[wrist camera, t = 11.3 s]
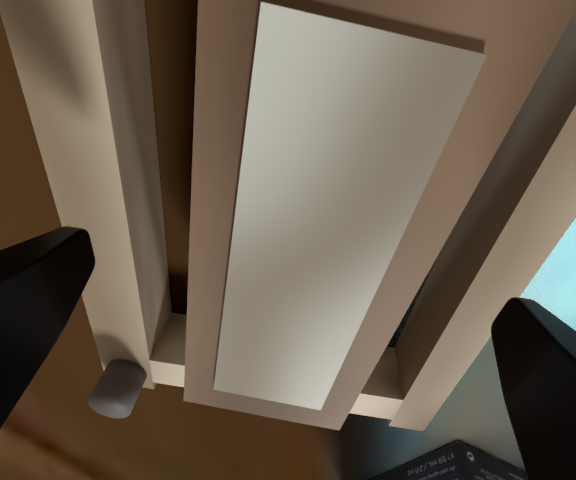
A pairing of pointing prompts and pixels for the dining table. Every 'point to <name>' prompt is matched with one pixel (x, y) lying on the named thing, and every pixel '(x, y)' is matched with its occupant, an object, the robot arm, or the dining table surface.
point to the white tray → (150, 222)
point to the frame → (336, 180)
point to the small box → (455, 466)
